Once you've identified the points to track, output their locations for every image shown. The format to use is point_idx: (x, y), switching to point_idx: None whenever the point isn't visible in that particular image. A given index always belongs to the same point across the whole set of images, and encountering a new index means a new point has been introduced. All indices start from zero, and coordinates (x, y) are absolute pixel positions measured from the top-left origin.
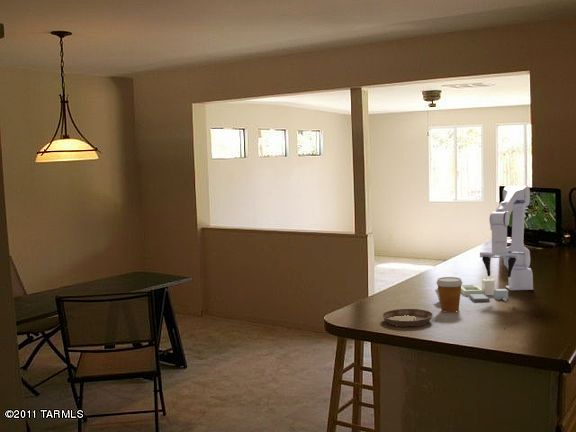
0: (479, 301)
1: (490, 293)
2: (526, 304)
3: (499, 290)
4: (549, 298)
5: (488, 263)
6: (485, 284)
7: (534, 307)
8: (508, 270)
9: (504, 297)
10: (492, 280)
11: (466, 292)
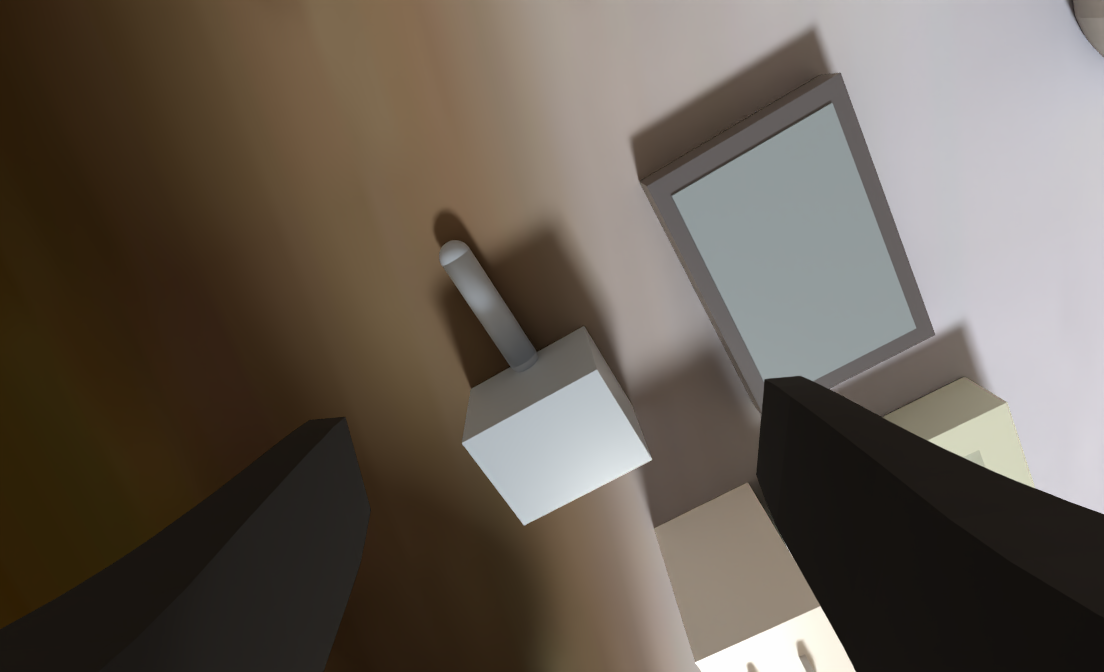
0: (757, 112)
1: (698, 517)
2: (184, 199)
3: (564, 403)
4: (101, 558)
5: (1027, 577)
6: (789, 570)
7: (20, 61)
8: (252, 500)
9: (506, 379)
10: (721, 655)
11: (964, 406)
